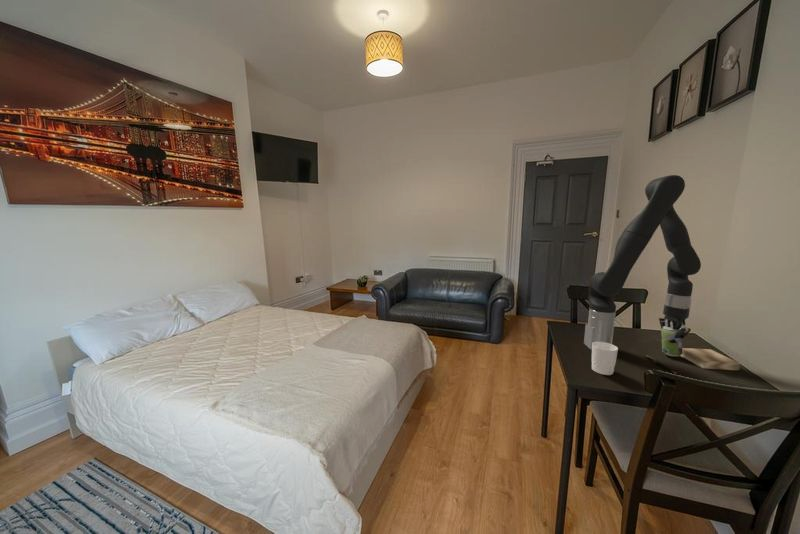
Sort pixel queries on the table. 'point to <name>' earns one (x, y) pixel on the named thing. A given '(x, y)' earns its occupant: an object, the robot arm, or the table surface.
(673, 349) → the beverage can
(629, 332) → the table surface
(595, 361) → the white cup
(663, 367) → the fountain pen
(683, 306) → the robot arm
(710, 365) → the base
